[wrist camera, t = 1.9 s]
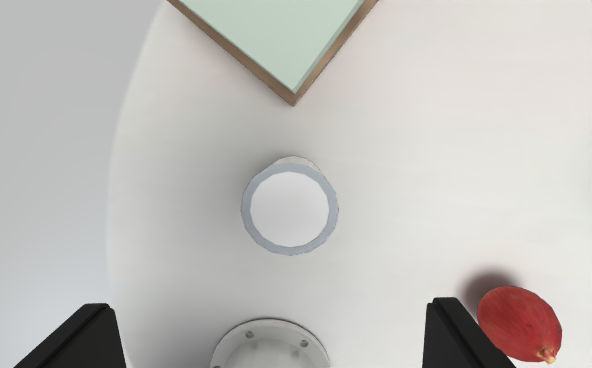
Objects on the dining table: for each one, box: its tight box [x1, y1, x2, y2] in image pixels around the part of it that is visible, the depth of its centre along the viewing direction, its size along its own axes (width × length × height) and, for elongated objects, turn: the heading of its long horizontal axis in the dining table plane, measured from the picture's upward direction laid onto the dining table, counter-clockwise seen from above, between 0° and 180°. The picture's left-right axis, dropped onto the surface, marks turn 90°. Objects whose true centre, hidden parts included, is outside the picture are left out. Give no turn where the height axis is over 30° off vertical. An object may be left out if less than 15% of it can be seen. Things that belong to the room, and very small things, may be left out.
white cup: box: [241, 156, 339, 256], centre depth 25 cm, size 7×7×7 cm
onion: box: [477, 286, 562, 364], centre depth 26 cm, size 6×6×8 cm
